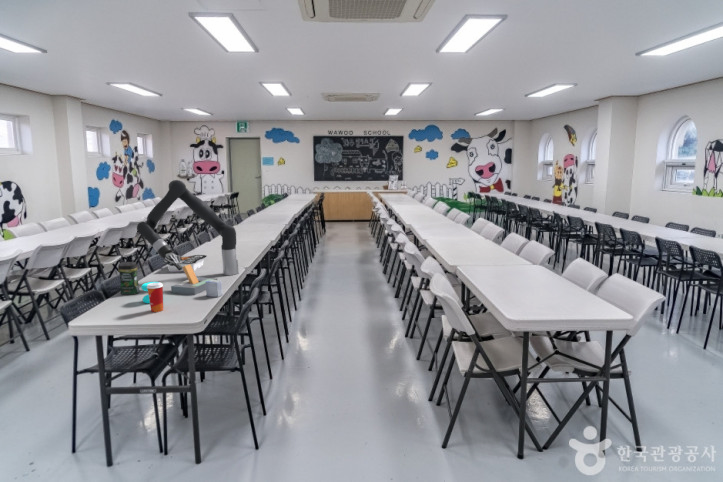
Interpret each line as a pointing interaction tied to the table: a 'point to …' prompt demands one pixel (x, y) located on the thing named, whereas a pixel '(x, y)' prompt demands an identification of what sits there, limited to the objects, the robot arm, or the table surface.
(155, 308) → the paper cup
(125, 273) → the coffee jar
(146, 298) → the donuts
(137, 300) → the table surface
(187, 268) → the breaker lever
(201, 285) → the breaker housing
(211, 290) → the medicine box
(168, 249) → the robot arm
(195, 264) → the food packaging
